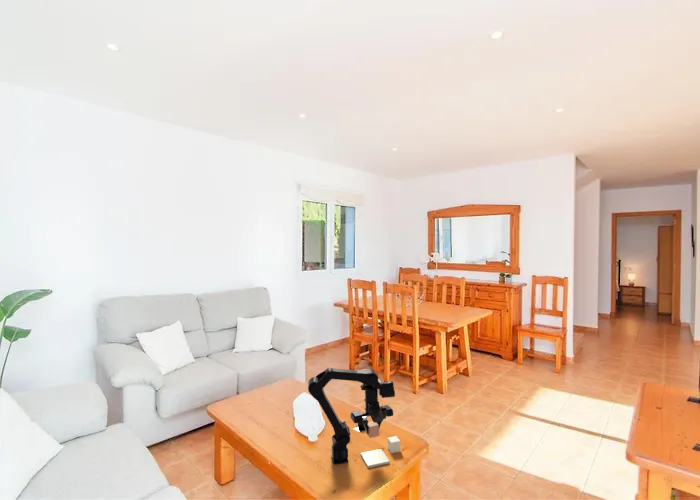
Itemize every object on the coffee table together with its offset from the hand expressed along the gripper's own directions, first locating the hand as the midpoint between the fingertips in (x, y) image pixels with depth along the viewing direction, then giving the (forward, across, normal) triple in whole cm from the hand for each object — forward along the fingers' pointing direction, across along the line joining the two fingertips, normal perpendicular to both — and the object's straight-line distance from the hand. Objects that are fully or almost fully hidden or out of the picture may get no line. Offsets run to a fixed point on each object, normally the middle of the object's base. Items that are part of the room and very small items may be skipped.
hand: (372, 432), depth 165 cm
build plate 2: (+12, +5, +26) cm, 29 cm away
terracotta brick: (+1, 0, 0) cm, 1 cm away
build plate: (+11, 0, -2) cm, 11 cm away
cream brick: (+11, +11, +1) cm, 16 cm away
